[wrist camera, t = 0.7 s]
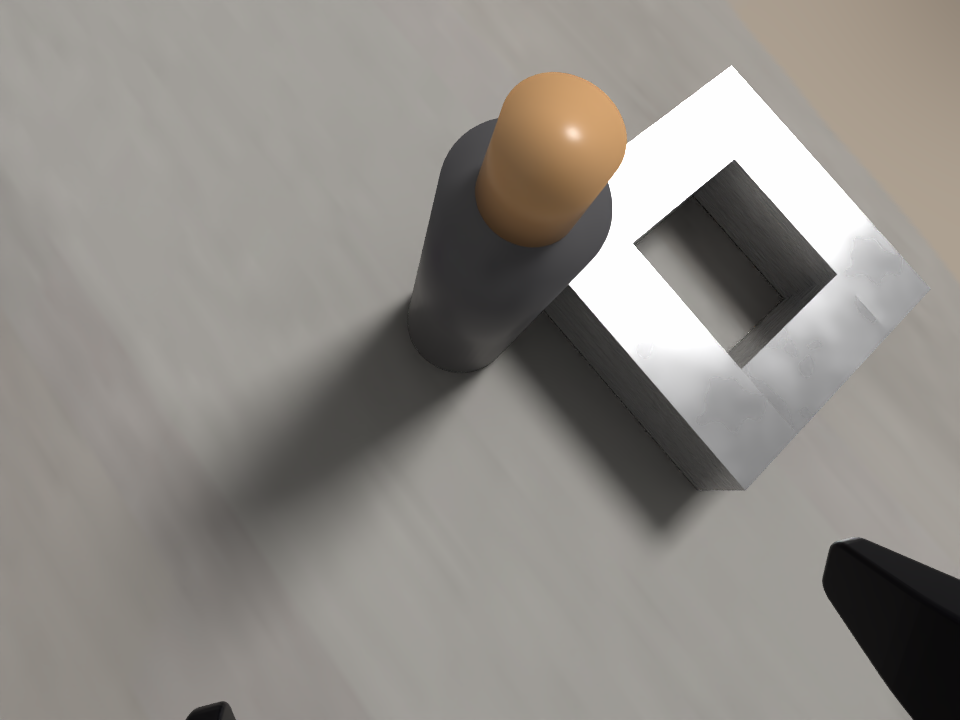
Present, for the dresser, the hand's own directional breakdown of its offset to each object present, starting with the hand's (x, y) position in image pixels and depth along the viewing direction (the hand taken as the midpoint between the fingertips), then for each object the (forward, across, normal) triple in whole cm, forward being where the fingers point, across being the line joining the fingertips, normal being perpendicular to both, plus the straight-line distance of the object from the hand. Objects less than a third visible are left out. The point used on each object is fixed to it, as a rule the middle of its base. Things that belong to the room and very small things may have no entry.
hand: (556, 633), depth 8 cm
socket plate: (+16, -12, +2) cm, 20 cm away
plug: (+15, -2, +1) cm, 15 cm away
